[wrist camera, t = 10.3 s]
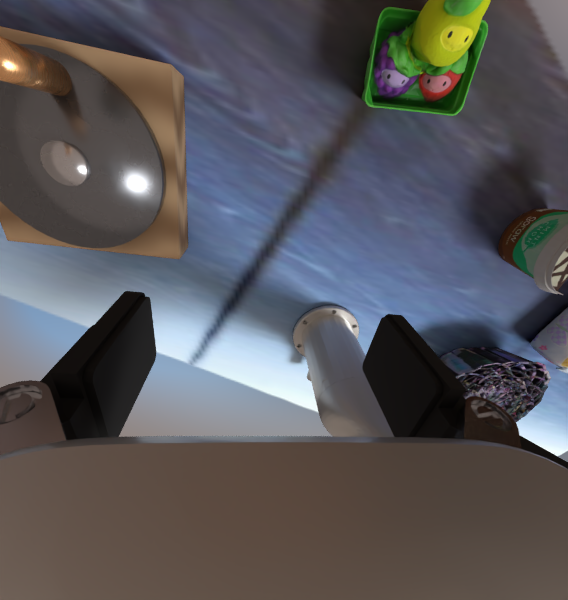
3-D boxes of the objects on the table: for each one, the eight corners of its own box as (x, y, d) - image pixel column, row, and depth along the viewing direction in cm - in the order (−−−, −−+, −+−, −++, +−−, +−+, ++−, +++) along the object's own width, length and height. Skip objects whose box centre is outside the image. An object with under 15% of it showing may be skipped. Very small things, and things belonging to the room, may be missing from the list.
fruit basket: (348, 112, 32) (388, 97, 23) (364, 11, 28) (422, -63, 18) (433, 120, 33) (505, 109, 24) (461, 25, 29) (564, -37, 19)
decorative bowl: (480, 402, 70) (514, 437, 61) (385, 419, 66) (408, 458, 57) (524, 325, 57) (575, 356, 48) (408, 341, 53) (442, 377, 44)
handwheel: (167, 85, 25) (130, 59, 18) (165, 255, 34) (140, 286, 26) (-59, 18, 22) (-220, -49, 14) (3, 227, 30) (-78, 253, 23)
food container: (524, 189, 39) (600, 201, 31) (555, 199, 40) (635, 213, 32) (476, 263, 45) (527, 290, 36) (503, 270, 46) (560, 298, 38)
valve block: (188, 246, 39) (179, 259, 35) (37, 229, 36) (7, 240, 31) (183, 76, 29) (171, 64, 25) (-25, 31, 26) (-81, 8, 22)
